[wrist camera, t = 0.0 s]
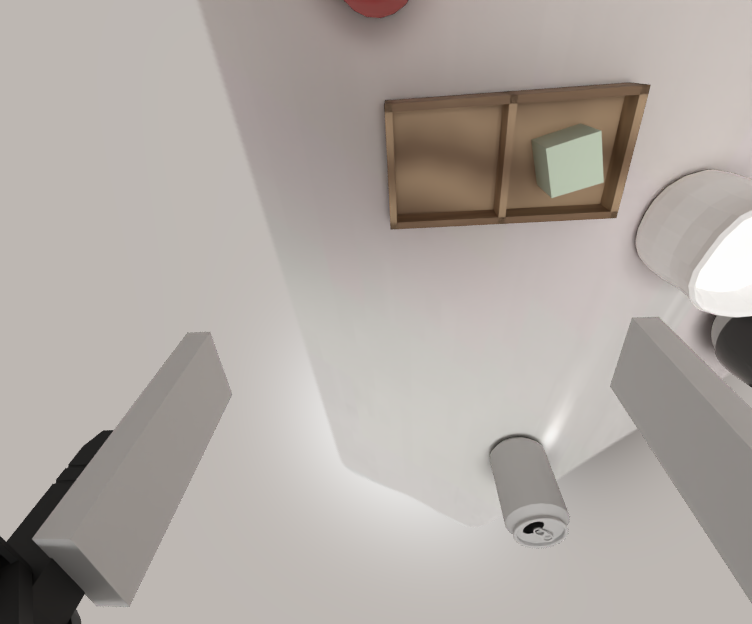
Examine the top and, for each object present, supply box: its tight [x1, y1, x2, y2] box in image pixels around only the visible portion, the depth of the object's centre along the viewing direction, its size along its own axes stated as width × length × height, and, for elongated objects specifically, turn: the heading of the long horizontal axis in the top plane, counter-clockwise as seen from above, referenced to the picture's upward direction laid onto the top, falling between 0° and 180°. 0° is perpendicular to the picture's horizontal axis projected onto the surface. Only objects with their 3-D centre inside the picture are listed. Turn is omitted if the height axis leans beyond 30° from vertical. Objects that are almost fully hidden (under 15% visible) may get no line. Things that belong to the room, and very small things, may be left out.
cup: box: [635, 170, 752, 317], centre depth 34 cm, size 10×10×10 cm
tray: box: [384, 83, 650, 229], centre depth 35 cm, size 10×20×3 cm, turn 94°
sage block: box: [531, 123, 604, 198], centre depth 33 cm, size 4×4×4 cm
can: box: [490, 437, 570, 548], centre depth 52 cm, size 8×8×12 cm
